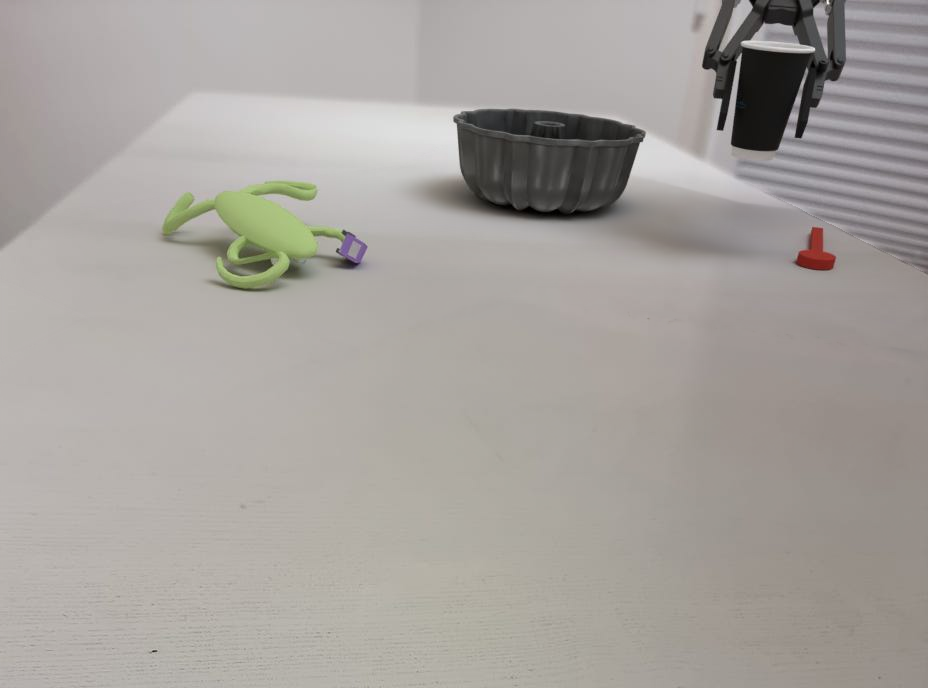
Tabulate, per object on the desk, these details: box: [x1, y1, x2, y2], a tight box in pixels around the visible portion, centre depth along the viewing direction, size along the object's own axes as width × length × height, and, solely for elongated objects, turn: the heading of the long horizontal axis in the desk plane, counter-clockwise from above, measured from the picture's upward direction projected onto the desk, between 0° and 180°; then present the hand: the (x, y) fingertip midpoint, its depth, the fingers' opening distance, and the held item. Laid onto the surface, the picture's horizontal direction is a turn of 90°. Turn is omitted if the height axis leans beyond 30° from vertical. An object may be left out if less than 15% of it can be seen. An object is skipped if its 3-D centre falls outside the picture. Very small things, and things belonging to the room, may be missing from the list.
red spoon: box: [796, 226, 837, 271], centre depth 117 cm, size 4×18×1 cm, turn 162°
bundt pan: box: [452, 108, 647, 215], centre depth 127 cm, size 26×26×10 cm
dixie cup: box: [730, 40, 815, 162], centre depth 103 cm, size 8×8×11 cm
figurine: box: [161, 180, 369, 290], centre depth 101 cm, size 18×27×6 cm
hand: (761, 125), depth 101 cm, fingers closed on dixie cup, 8 cm apart
